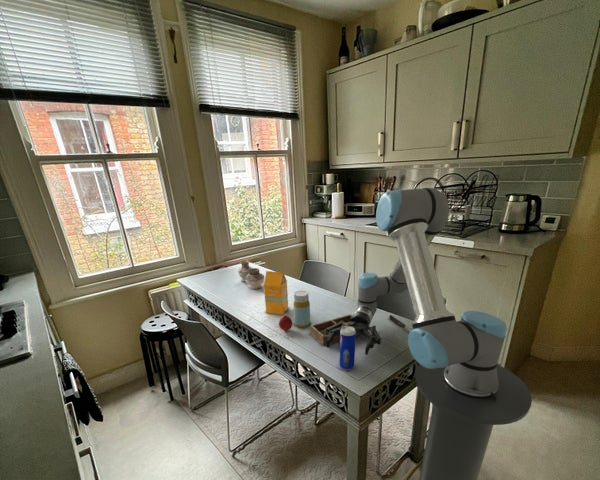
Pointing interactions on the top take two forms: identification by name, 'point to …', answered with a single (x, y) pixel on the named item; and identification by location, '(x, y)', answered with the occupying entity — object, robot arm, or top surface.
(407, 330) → the kitchen knife
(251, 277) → the pottery
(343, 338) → the beverage can
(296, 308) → the bottle
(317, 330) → the wooden divided tray
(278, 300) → the orange juice
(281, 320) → the onion
